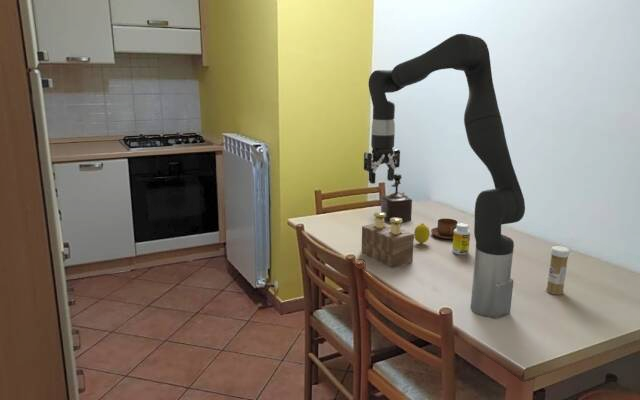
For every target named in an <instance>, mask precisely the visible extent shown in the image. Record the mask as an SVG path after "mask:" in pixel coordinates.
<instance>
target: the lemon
mask: <svg viewBox="0 0 640 400" xmlns="http://www.w3.org/2000/svg"><path fill="white" fill-rule="evenodd" d="M430 232H431V231H430V229H429V227H428V226H427V225H426V224H425V223H421V224H418V225H416V227H415V229H414V231H413V234H414V240H415V241H416V242H418V243H419V244H420V245H423V244H424V243H426V242H427V241H428V240H429V238H430V235H431V233H430Z"/></svg>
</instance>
